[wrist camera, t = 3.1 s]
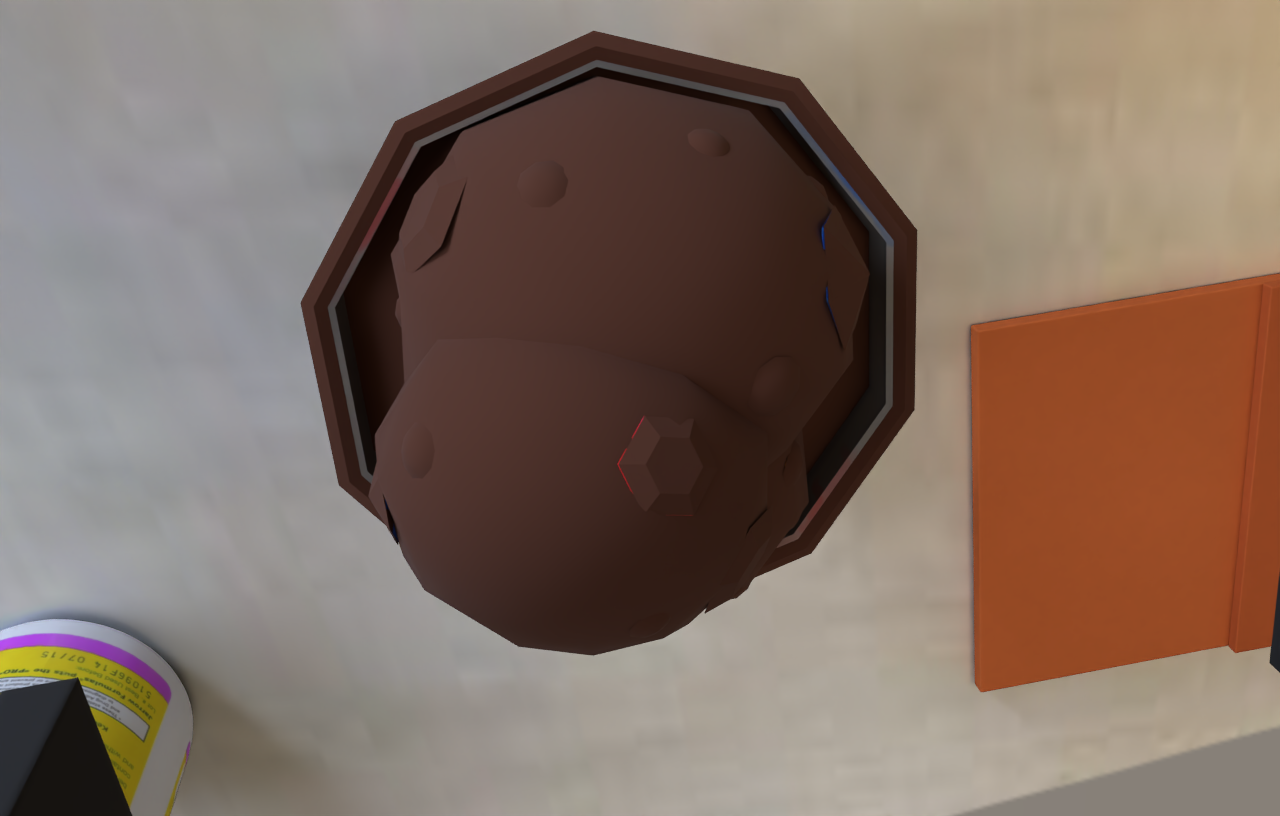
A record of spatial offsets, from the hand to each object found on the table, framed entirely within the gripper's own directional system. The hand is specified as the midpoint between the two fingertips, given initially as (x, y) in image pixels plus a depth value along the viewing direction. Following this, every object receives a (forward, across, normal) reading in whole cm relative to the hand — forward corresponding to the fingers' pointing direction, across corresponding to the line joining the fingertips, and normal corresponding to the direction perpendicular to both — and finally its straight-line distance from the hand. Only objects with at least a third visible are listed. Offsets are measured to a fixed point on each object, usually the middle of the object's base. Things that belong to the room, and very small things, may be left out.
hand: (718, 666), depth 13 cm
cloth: (+18, +18, -10) cm, 28 cm away
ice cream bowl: (+18, 0, 0) cm, 19 cm away
